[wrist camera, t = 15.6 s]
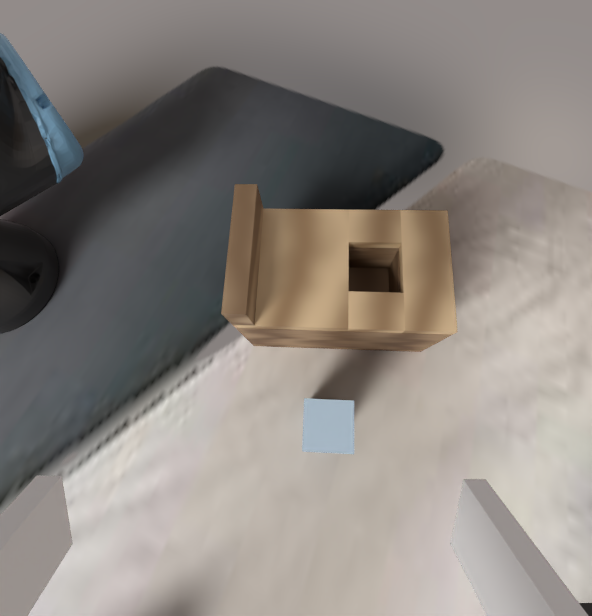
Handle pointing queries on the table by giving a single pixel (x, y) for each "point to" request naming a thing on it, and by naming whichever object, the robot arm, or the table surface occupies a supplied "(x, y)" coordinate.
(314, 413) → the blue-gray rectangular block
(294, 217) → the tan holed block
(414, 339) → the open wooden box
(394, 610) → the table surface
